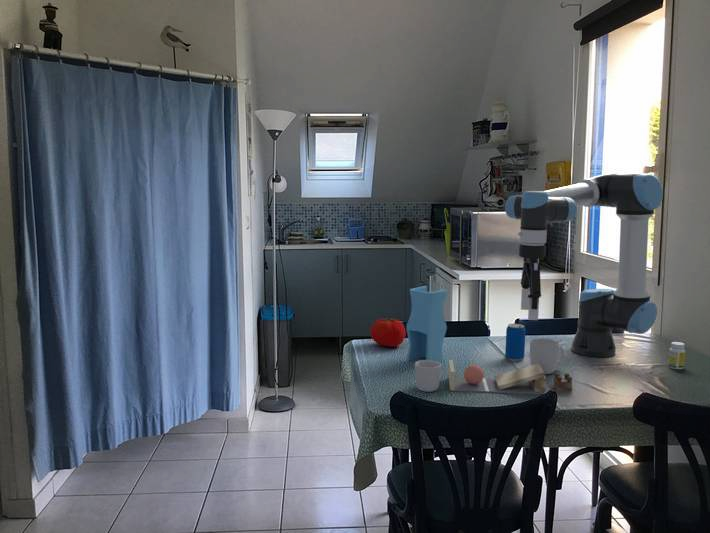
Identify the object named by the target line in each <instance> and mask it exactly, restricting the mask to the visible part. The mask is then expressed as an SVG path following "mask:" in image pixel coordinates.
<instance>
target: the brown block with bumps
mask: <svg viewBox="0 0 710 533" xmlns="http://www.w3.org/2000/svg"><path fill="white" fill-rule="evenodd" d="M553 388H554V389H555V391H556V392H564V391H573V377H572V376H571V375H570V373H568V372H566V373H565V374H564V376H561V374H560V373H559V372H555V373H554V376H553Z"/></svg>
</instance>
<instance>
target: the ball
mask: <svg viewBox="0 0 710 533" xmlns="http://www.w3.org/2000/svg"><path fill="white" fill-rule="evenodd" d="M484 375H485V374H484V370H483V369H482V368H481V366H479V365H476V364H470V365H468V366H467V367H465V368H464V371H463V377H464V378H465V380H466V381H467V382H468V383H469V384H473V385H475V384H479V383H480V382H481V381H482V380H483V378H485V376H484Z"/></svg>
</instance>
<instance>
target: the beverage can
mask: <svg viewBox="0 0 710 533" xmlns="http://www.w3.org/2000/svg"><path fill="white" fill-rule="evenodd" d="M505 330H506V331H505V332H506V334H505V349H504V350H505V352H504V357H505V358H506V359H507V360H509V361H513V362H521V361H522V360H523V359H524V358H525V349H526V348H525V347H526V332H527V330H526V328H525V325H524V324H520V323H509V324H508V325H507V327H506V329H505Z"/></svg>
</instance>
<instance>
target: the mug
mask: <svg viewBox="0 0 710 533" xmlns="http://www.w3.org/2000/svg"><path fill="white" fill-rule="evenodd" d="M529 358H530V359H529V360H530V366H532V365H535V364H538V363H539V365H540V367H541V368H542V370H543V372H544V374H545V375H549V374H553V373H554V372H555V370H557V369H556V368H557V365H560V364H561V363H562V362H563V361H564V359H565V349H564V348H563V347H562V346H560V342H558V341H557V340H554V339H552V338H532V339H530V342H529Z"/></svg>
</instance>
